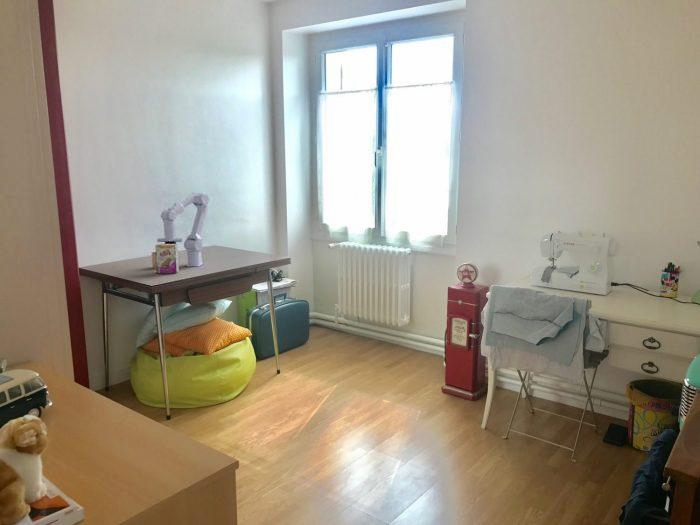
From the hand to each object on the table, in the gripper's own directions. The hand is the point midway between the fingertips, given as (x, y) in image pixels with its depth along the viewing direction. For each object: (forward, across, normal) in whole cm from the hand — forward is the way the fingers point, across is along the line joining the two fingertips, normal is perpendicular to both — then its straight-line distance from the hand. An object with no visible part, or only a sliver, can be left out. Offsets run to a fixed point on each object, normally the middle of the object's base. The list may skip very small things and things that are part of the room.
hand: (171, 254), depth 321 cm
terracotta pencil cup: (+10, -11, +8) cm, 17 cm away
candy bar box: (+10, 0, -6) cm, 11 cm away
